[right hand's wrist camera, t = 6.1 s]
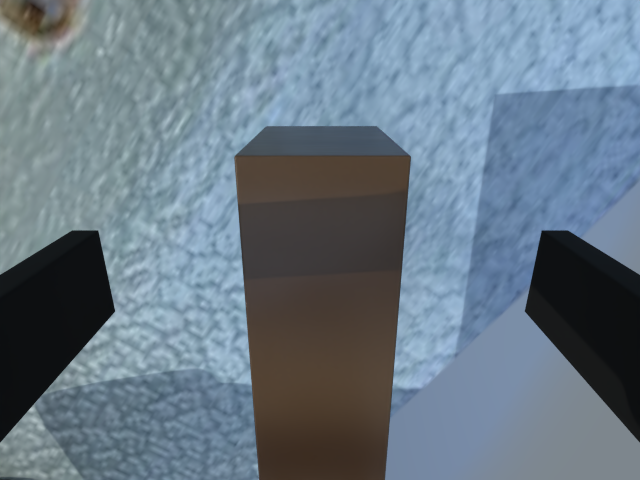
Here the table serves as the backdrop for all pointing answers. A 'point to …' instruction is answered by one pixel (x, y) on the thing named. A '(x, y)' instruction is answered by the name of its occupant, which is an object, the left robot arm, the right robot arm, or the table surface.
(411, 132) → the table surface
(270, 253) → the bar
